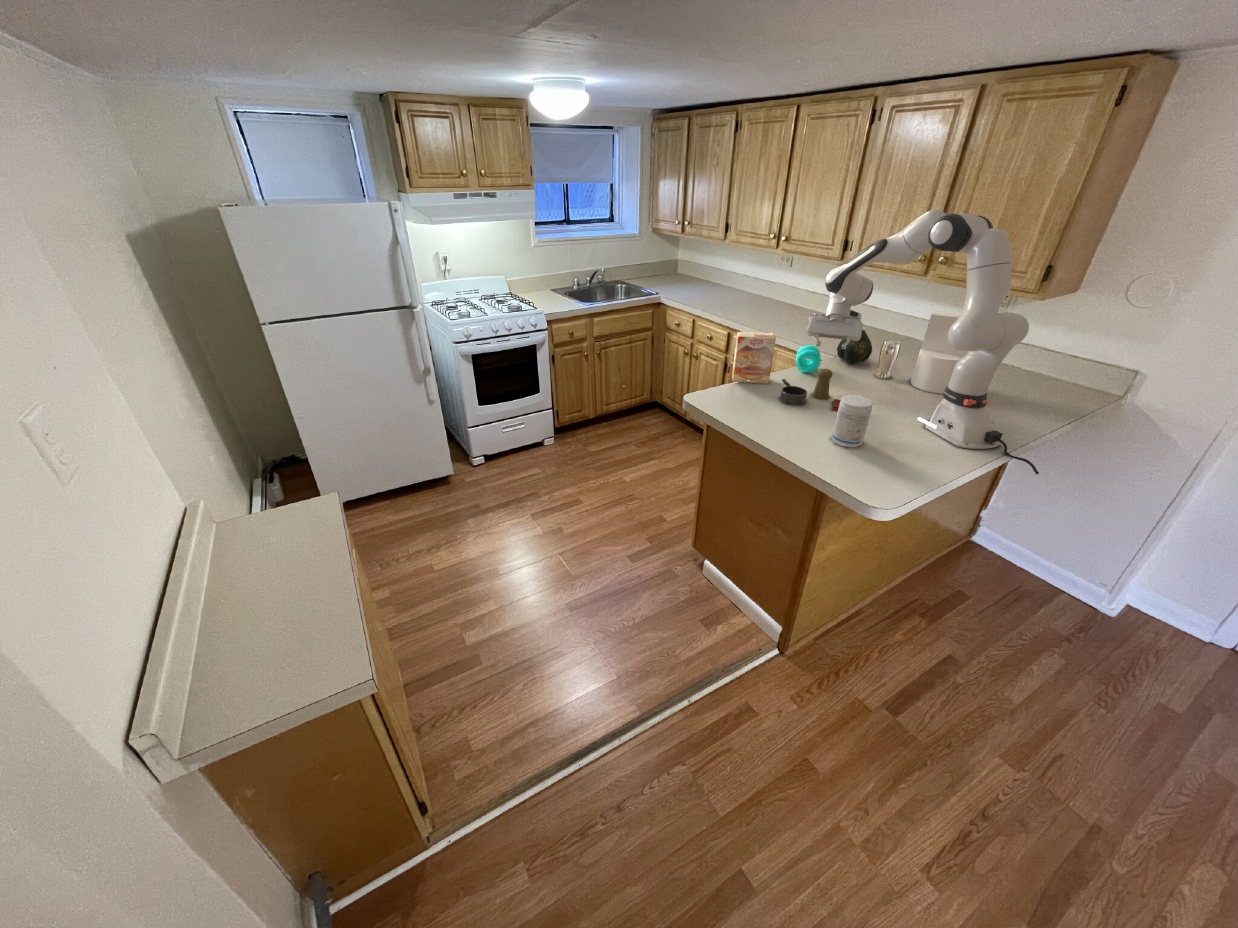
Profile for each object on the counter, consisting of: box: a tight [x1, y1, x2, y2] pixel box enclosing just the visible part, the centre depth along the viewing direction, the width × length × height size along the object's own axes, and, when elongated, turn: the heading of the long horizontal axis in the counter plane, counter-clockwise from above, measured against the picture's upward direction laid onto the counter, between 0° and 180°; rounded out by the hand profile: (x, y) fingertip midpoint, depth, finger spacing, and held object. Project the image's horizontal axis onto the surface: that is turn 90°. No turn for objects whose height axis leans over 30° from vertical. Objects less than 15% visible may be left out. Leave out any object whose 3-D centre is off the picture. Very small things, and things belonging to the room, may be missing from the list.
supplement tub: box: [831, 394, 874, 448], centre depth 164 cm, size 10×10×15 cm
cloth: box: [831, 398, 841, 412], centre depth 190 cm, size 8×7×1 cm
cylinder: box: [910, 311, 968, 395], centre depth 202 cm, size 17×17×28 cm
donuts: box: [795, 344, 821, 374], centre depth 223 cm, size 10×10×10 cm
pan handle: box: [781, 378, 792, 387], centre depth 202 cm, size 8×1×1 cm, turn 3°
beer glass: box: [874, 339, 902, 380], centre depth 214 cm, size 7×7×15 cm
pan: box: [779, 385, 808, 406], centre depth 196 cm, size 9×9×4 cm
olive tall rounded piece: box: [811, 368, 833, 400], centre depth 197 cm, size 6×6×11 cm
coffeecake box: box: [731, 331, 777, 384], centre depth 210 cm, size 15×7×20 cm, turn 82°
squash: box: [836, 329, 873, 365], centre depth 232 cm, size 14×15×15 cm
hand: (830, 347), depth 200 cm, fingers open, 8 cm apart
